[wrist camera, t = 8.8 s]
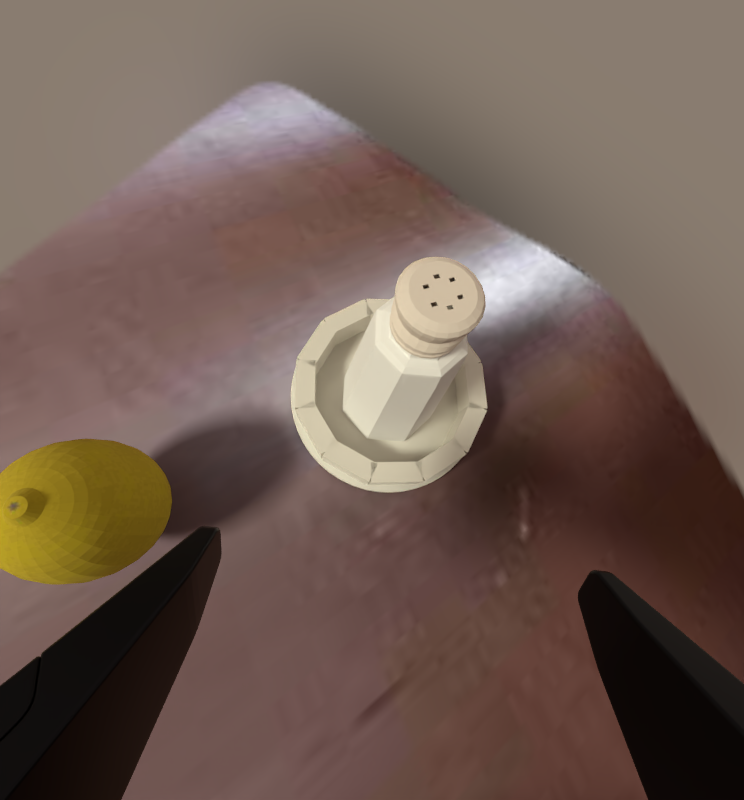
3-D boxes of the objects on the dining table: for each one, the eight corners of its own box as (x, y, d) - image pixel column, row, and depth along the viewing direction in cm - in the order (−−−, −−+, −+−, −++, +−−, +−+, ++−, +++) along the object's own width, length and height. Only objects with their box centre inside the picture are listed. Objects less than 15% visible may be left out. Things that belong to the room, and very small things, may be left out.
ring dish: (485, 490, 21) (504, 488, 19) (288, 495, 20) (283, 492, 18) (466, 317, 25) (480, 297, 22) (294, 311, 23) (291, 289, 21)
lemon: (188, 443, 20) (105, 403, 13) (201, 550, 19) (117, 577, 11) (75, 467, 19) (-89, 439, 12) (80, 581, 18) (-101, 634, 10)
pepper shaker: (446, 426, 22) (560, 347, 11) (357, 457, 21) (390, 401, 10) (412, 343, 23) (486, 202, 12) (327, 368, 22) (327, 236, 11)
